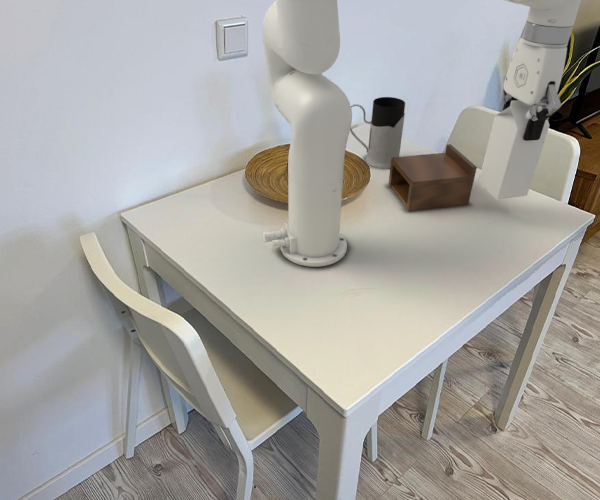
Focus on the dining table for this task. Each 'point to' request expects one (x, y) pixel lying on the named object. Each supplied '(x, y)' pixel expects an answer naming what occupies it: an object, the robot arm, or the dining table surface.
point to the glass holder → (384, 131)
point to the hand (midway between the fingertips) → (518, 130)
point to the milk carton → (511, 153)
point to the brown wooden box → (432, 179)
